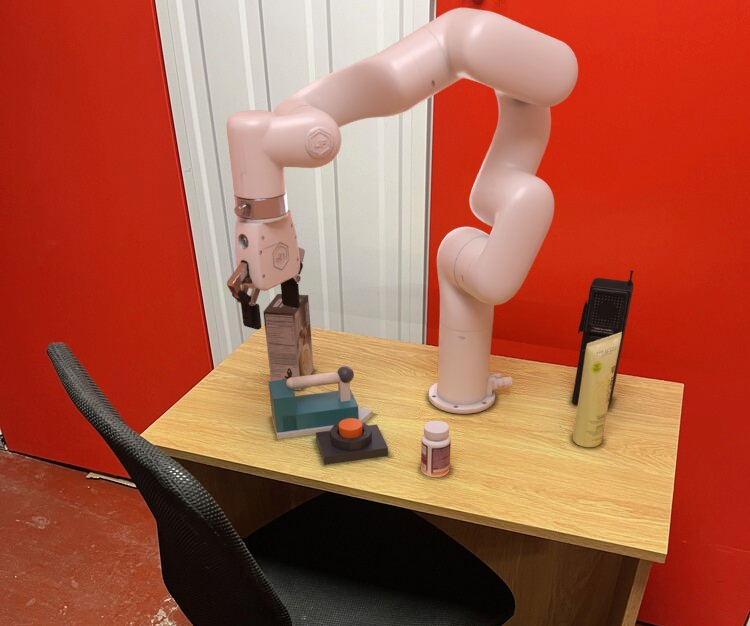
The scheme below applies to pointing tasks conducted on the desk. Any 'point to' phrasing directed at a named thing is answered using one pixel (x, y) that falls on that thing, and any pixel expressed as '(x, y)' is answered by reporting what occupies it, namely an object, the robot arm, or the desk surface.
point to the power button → (350, 428)
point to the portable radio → (603, 320)
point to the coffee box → (288, 339)
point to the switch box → (351, 445)
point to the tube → (595, 390)
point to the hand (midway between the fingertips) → (272, 316)
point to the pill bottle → (435, 449)
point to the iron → (313, 404)
